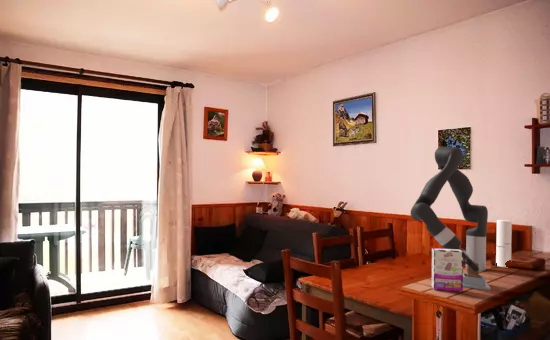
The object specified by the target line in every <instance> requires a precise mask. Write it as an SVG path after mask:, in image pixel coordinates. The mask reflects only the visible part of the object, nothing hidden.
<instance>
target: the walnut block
mask: <svg viewBox="0 0 550 340" xmlns="http://www.w3.org/2000/svg"><path fill="white" fill-rule="evenodd" d="M473 263H474V264H475V265H476V266H477V267H478V268H479V264H478V263H475V262H473ZM466 273H467V277H475V278H478V275H479V270H478V271H477V272H475V271H474V270H473V269H472V268H471V267H470V266H469V265H467V268H466Z"/></svg>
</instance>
